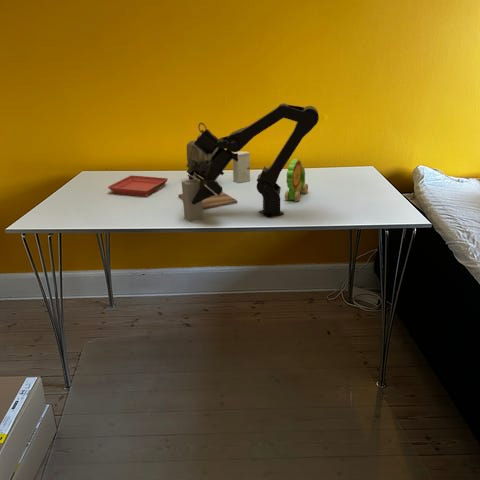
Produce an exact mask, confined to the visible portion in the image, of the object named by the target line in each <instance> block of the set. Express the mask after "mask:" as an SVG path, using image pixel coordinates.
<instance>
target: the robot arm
mask: <svg viewBox="0 0 480 480" xmlns="http://www.w3.org/2000/svg"><path fill="white" fill-rule="evenodd" d="M283 119H287V120H290V121H292V122H296V123H295V126H294V129H293V131H292V132H291V133H290V135H289V137H288V138H287V140H286V142H285V143H284V145H283V146H282V148H281V149H280V151H279V153H278V154H277V155H276V157H275V159H274V160H273V162H272V163H271V165H269V167H266V166H263V168H262V171H261V172H260V174H258V175H257V178H256V182H257V183H256V186H255V187H256V189H257V192H258V193H259V194H261V196H262V209H261V210H259V211H258V213H259V214H261V215H263V216H264V217H267V218H268V219H269V218H273V217H278V216H283V215H285V213H284V212H283V211H281V196H280V194H281V190H282V187H281V186H280V185H279V184H278V183H277V181H278V179H279V176H280V174H281V172H282V170H283V169H284V167H285V166H286V165H287V163H288V161H289V160H290V159H291V157H292V155H293V154H294V153H295V151H296V149H297V147H298V146H299V145H300V143H301V141H302V140H303V138H304V137H305V136H306V135H308V134H309V133H310V132H311V131H312V129H314V127H315V126H317V124H318V122H319V119H320V116H319V111H318V109H317V108H316V107H315V106H313V105H307V106H299V105H293V104H287V103H284V102H283V103H280V104H279V105H278V106H276V107H275V108H273V109H272V110H270V111H269V112H268V113H266V114H265V115H263V116H262V117H260V118H258V119H256V120H255V121H253V122H252V123H251V124H249V125H247V126H244V127H241V128H239V129H237V130H234V131H232V132H231V133H229V135H227V136H223V137H219V138H218V137H217V136H216V135H214V134H213V133H212V132H211V131H210V130H209V129H208V128H206V130H205V129H204V132H203V134H202V135H201V136H200V137H199V138H198V139H197V138H196V141H195V143H194V145H195V146H196V147H197V148H199V149H200V150H201V151H202V152H203V153H205V154H206V155H207V154H208V155H209V154H212V153H213V152H214V150H215V149H216V148H217V147H218V148H219V149H218V150H217V151H216V152H215V154H214V155H213V156H212V158H211V159H210V160H209V161H208V160H205V161H202V160H199V161H198V160H195V159H192V158H189V161H188V163H187V162H186V163H187V164H186V168H187V170H186V173H187V177H188V180H192V179H197V180H198V181H200V182H201V183H200V189H199V191H198V193H197V194H196V196H195V197H194V199H193V201H192V204H193V205H195V204H197V203H198V202H200V201H202V200H204V199H207V198H209V197H211V196H213V195H214V196H215V194H214V193H216V194H217V195H220V194H221V193H222V192H224V191H223V186H221V185H220V184H219V183H216V182H215V181H216V180H217V179H218V178H219V176H223V175H224V174H225V172H223V171H225V169H226V168H227V166H228V165H229V164H230V162H231V161H233V160H234V161H235V162H237V161H238V153H236V154H234V153H235V152H241V150H242V149H244V148H245V146H246V145H247V144H248V143H249V142H250V141H251V140H252V139H254V138H255V137H256V136H257V135H260V134H261V133H262V132H264V131H266V130H267V129H268V128H270V127H272V126H273V125H275V124H276V123H278V122H279V121H281V120H283ZM188 168H189V169H188Z"/></svg>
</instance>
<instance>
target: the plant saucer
mask: <svg viewBox="0 0 480 480" xmlns="http://www.w3.org/2000/svg"><path fill="white" fill-rule="evenodd" d="M167 182H168V177H167V178H166V177H156V176H145V175H143V176H142V175H134V174H133V175H132V174H131V175H128V176H127V177H125V178H122V179H120V180H119V181H116V182H114V183H113V184H111V185H108V186H107V189H109V190H110V191H111V192H113V194H119V195H128V194H129V195H131V196H138V197H139V196H140V197H147V196H149V195H150V194H152V193H154V192H155V191H157V190H159V189H161V188H162V187H164V185H166V183H167ZM129 195H128V196H129Z"/></svg>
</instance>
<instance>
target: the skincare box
mask: <svg viewBox="0 0 480 480" xmlns="http://www.w3.org/2000/svg"><path fill="white" fill-rule="evenodd" d="M233 153H234V154H236V153H238V161H237V162H235V161H234V160H233V159H232V176H233V177H232V178H233V179H232V180H233V182H235V183H237V184H240V183H245V182H249V181H250V180H251V173H250V172H251V169H250V168H251V165H250V164H251V162H250V161H251V160H250V159H251V158H250V156H251V155H250V152H249V151H245V150H243V151H241V150H240V151H238V152H233Z"/></svg>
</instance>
